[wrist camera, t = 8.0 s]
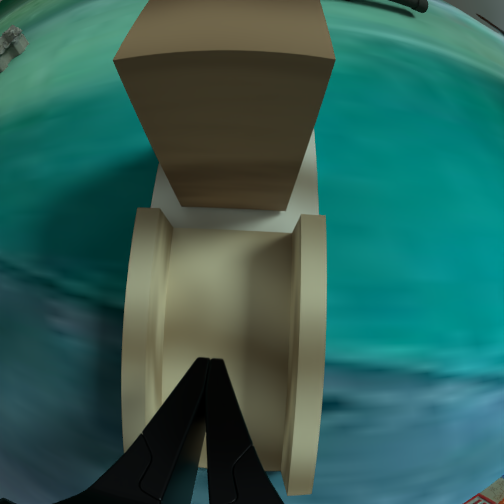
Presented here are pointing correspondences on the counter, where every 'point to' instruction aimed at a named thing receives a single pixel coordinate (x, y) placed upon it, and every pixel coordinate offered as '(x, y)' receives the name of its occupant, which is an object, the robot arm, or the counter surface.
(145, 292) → the chute
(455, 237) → the counter surface
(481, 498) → the stack of blocks
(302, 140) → the walnut block
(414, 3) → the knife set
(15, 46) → the bumpy grey rock
